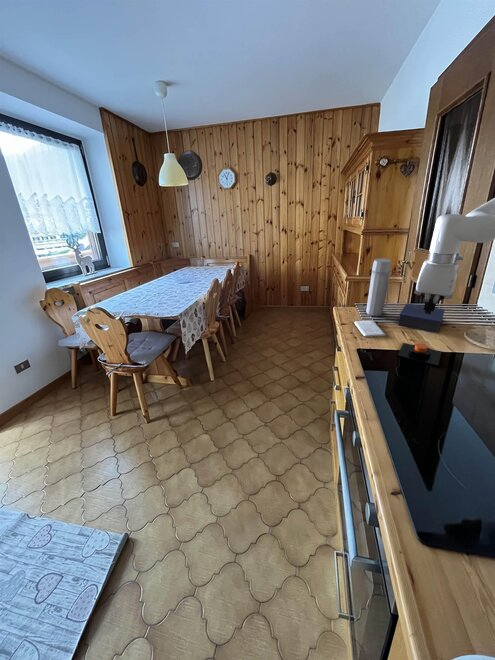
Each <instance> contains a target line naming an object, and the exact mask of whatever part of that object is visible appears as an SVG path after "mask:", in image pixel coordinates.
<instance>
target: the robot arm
mask: <svg viewBox="0 0 495 660" xmlns="http://www.w3.org/2000/svg"><path fill="white" fill-rule="evenodd" d="M494 240H495V197H494V198H492V199H490V200H489V201H487V202H485V203H483V204H481V205H480V206H478V207H476V208H475V209H473V210H471V211H470V212H469V213H467V214H466V215H464V214H460V213H450V214H449V213H447V214H441V215H439V216H438V217H437V219H436V221H435V224H434V230H433V233H432V238H431V242H430V247H429V251H428V254H427V259H424V262H423V263H422V266H421V268H420V271H419V274H418V278H417V282H416V284H415V285H416V286H415V289H414V292H413V293H414V294H415V295H417V296H420V297H421V298H422V299H423V301H424V305H423V306H424V310H426V311H425V314H427V313H428V314H431V312H432V311H433V312H434V310H435V308H436V306H437V303H439V302H440V301H443V300H452V299H453V297H454V290H455V286H456V283H457V279H458V274H459V266H460V264H459V262H458V261H463V260H464V255H463V254H462V255H461V254H460V250H461V246H462V242H467V243H476V244H478V243H479V244H485V243H490V242H492V241H494ZM431 295H435V296H434V297H433V299H432V298H431Z"/></svg>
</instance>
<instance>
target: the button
mask: <svg viewBox="0 0 495 660" xmlns="http://www.w3.org/2000/svg"><path fill="white" fill-rule="evenodd" d="M414 345H415V351H417V352H421V353H425V352H426V351H427V348H429V347H428V345H427V344H425V343H415V344H414Z"/></svg>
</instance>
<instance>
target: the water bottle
mask: <svg viewBox="0 0 495 660" xmlns="http://www.w3.org/2000/svg"><path fill="white" fill-rule="evenodd" d="M391 266H392V260H391V259H390V258H375V259H374V260H373V263H372V268H371V275H370V276H371V277H370V283H369V289H368V297H367V302H366V303H367V304H366V310H365V311H366V314H367V315H369V316H371V317H372V316H373V317H380V316H382V315H383V313H384V309H385V308H387V305H388V301H389V289H390V278H391V275H392V274H393V272H392V271H391V269H392V267H391Z"/></svg>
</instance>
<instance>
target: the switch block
mask: <svg viewBox="0 0 495 660" xmlns="http://www.w3.org/2000/svg"><path fill="white" fill-rule="evenodd" d="M415 345H416V344H410V343H407V342H403V343H402V345H401V347H400V349H399V351H398V353H397V357H398V358H402V359H405V360H409V361H413V362H416V363H421V364H425V365H429V366H432V367H437V368H438V367H439V364H440V360H441V356H442V351H441V350H437V349H432V348H430V347H428V348H427V351H426V352H425V353H421V352H417V351H415Z"/></svg>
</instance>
